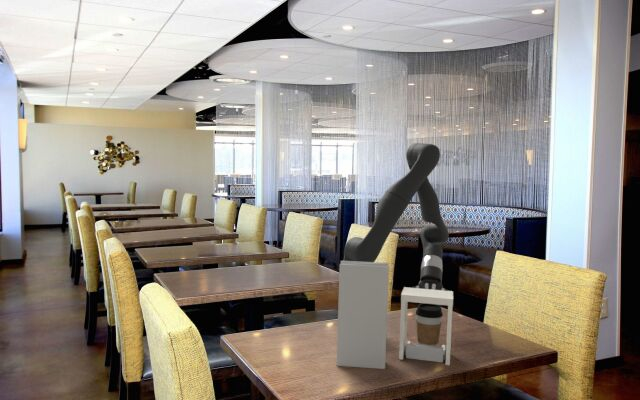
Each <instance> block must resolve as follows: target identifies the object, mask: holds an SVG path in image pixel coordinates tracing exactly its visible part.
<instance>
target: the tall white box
mask: <svg viewBox="0 0 640 400" xmlns="http://www.w3.org/2000/svg"><path fill="white" fill-rule="evenodd" d="M338 271H339V274H338V275H339V277H338V306H337V307H338V308H337V330H336V331H337V332H336V333H337V339H336V367H350V368H353V367H354V368H367V369H379V370H380V369H382V370H386V356H387V355H386V353H387V351H386V350H387V332H388V331H387V329H388V327H387V326H388V309H389V308H388V307H389V305H388V304H389V303H388V302H389V282H390V281H389V279H390V277H389V276H390V265H389V262H377V261H376V262H375V261H374V262H358V261H344V260H340V263H339V269H338Z"/></svg>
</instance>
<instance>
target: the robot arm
mask: <svg viewBox="0 0 640 400" xmlns="http://www.w3.org/2000/svg"><path fill="white" fill-rule="evenodd" d="M405 156H406V157H405V158H406V162H407V165H408V168H409V170H408V172H407V173H406V174H404V176H402V177H401V178H399V179H398V180H397V181H395V182H394V183H392V184H391V185H390V186H389V187H388V188H387V189H386V191H385V192H384V193H383V194H382V197H381V198H380V200H379V201H378V203H377V206H376V209H375V217H374V221H373V223H372V226H371V228H370V229H369V231H368V232H367V234H366V235H365V237H363V238H362V237H361V236H360V237H359V236H353V237H351V238H349V239H348V240H347V242H346V243H345V245H344V249H343V261H358V262H375V261H376V260H377V258H378V256H379V255H380V253H381V251H382V249H383V247H384V245H385V243H386V242H387V239H388V237H389V236H390V234H391V233H392V231H393V229H394V228H395V226H396V225H397V223H398V221H399V219H400V218H401V217H402V216H403V214H404V212H405V210H406V209H407V208H408V206H409V204H410V202H411V201H412V199H413V197H414V196H415V195H416V193H417V195H418V196H417V197H418V201H419V206H420V213H421V218H422V220H423V222H425V223H431V224H434V225H426V226H423V227H422V228H421V230H420V231H419V232H420V233H419V236H420V239H421V244H422V248H423V249H422V250H423V253H422V261H421V265H420V279H419V282H418V284H417V285H416V286H415V285H413V286H412V287H411V288H420V289H432V290H444V291H449V289H446V288H444V287H443V286H444V285H443V284H442V281H443V252H444V251H443V247H442V246H441V244H445V243H447V242H448V240H449V238H450V237H449V235H450V234H449V230H448V229H447V226H446V223H445V222H444V220H443V216H442V214H441V208H440V202H439V197H438V195H437V193H436V191H435V189H434V188H433V186H432V184H431V182H430V180H429V178H428V177H429V176H430V174H431V173H432V172H433V171H434V169H435V168H436V166H437V165H438V164H439V161H440V157H441V151H440V149H439V147H438V146H437V145H435V144H433V143H421V142H420V143H419V142H415V143H412V144H410V145H409V147H407V149H406V155H405ZM439 244H440V245H439Z"/></svg>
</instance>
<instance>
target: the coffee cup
mask: <svg viewBox="0 0 640 400" xmlns="http://www.w3.org/2000/svg"><path fill="white" fill-rule="evenodd" d="M441 306H442V305H437V304H427V303H419V304H418V305H417V308H416V310H415V315H416V336H417V337H416V339H417V344H419V345H428V346H437V347H439V341H440V335H441V327H442V318H443V316H444V315H443V311H442V310H443V309H442V307H441Z"/></svg>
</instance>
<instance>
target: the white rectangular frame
mask: <svg viewBox="0 0 640 400" xmlns="http://www.w3.org/2000/svg"><path fill="white" fill-rule="evenodd" d="M408 303H416V304H417V303H419V304H421V303H427V304H437V305H440V306H447V317H446V318H447V320H446V321H447V323H446V342H445V344H442V345H441V346H438V347H437V346H428V345H419V344H418V343H412V342H411V341H410V340H407V329H408V328H407V324H408ZM453 307H454V291H452V290H448V291H444V290H432V289H420V288H412V287H406V286H403V289H402V291H401V293H400V320H399V321H400V324H399V325H400V326H399V347H398V348H399V349H398V350H399V351H398V360H400V361H401V360H404V357H405V358H406V359H409V360H410V359H412V360H420V361H427V362H438V363H443V362H444V361H445V366H450V364H451V347H452V346H451V345H452V323H453V322H452V321H453Z"/></svg>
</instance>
